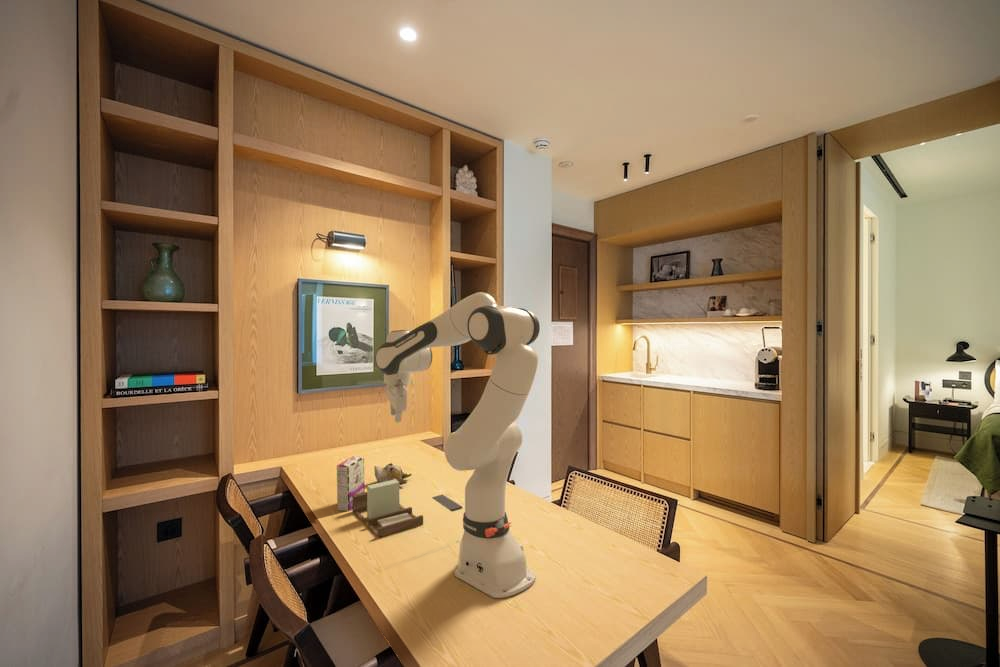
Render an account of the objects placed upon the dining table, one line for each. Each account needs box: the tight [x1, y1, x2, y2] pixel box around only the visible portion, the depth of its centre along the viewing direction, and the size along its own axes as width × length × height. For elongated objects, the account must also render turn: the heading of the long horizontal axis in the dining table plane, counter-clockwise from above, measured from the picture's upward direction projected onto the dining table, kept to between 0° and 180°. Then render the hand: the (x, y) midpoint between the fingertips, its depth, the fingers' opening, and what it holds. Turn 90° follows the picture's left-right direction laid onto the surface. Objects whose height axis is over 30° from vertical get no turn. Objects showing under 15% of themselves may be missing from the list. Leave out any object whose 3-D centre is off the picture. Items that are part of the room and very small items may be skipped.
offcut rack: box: [352, 491, 424, 539], centre depth 144 cm, size 24×15×7 cm, turn 38°
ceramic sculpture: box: [374, 463, 412, 486], centre depth 179 cm, size 11×9×15 cm
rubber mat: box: [431, 494, 463, 512], centre depth 156 cm, size 14×16×1 cm
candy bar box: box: [336, 455, 365, 512], centre depth 157 cm, size 11×5×16 cm, turn 168°
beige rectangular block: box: [366, 479, 400, 519], centre depth 146 cm, size 4×10×12 cm, turn 128°
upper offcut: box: [376, 513, 412, 528], centre depth 138 cm, size 6×10×2 cm, turn 124°
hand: (395, 418), depth 145 cm, fingers open, 8 cm apart
